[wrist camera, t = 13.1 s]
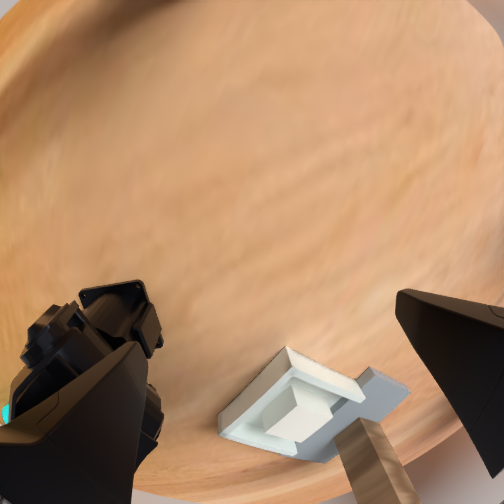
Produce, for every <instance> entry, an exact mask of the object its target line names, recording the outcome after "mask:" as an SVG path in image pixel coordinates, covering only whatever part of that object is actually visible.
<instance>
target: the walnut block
mask: <svg viewBox="0 0 504 504" xmlns="http://www.w3.org/2000/svg"><path fill="white" fill-rule="evenodd" d="M333 439H334V442H335V445H336V447H337V450H338V452H339V455H340V458H341V460H342V463H343V466H344V468H345V471H346V474H347V476H348V479H349V482H350V484H351V487H352V490H353V492H354V495H355V497H356V500H357V503H358V504H422V503H421V501H420V499H419V497H418V495H417V493H416V491H415V489H414V487H413V485H412V483H411V482H410V480H409V478H408V476H407V474H406V472H405V470H404V468H403V466H402V464H401V463H400V461H399V459H398V457H397V455H396V453H395V451H394V449H393V448H392V446H391V444H390V442H389V440H388V438H387V436H386V435H385V433H384V431H383V429H382V427H381V425H380V424H379V422H375V421H372V420H368V419H365V418H361V417H358V418H357V419H356V420H355V421H354V422H352V423H351V424H350V425H349V426H347V427H346V428H345V429H344V430H343V431H341V432H340V433H339V434H337V435H336V436H335V437H334V438H333Z"/></svg>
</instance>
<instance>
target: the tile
mask: <svg viewBox="0 0 504 504" xmlns="http://www.w3.org/2000/svg"><path fill="white" fill-rule="evenodd" d="M261 414H262V420H263V427H264V433H266V434H270V435H273V436H277V437H280V438H284V439H288V440H292V441H296V442H300V443H301V442H303V441H304V440H305V439H307V438H308V437H309V436H311V435H312V434H313V433H314V432H316V431H317V430H318V429H320V428H321V427H322V426H323V425H324V424H326V423H327V422H328V421H329V420H331V419H332V418H333V415H332V413H331V411H330V408H329V406H328V403H327V401H326V398H324V397H321V396H319V395H316V394H314V393H311V392H309V391H306V390H304V389H301V388H299V387H296V386H294V385H290V386H289V387H288V388H287V389H286V390H285V391H284V392H283V393H282V394H281V395H280V396H278V397H277V398H276V399H275V400H274V401H273V402H272V403H271V404H270V405H269V406H268V407H266V408H265V409H264V410H263V411H262V412H261Z"/></svg>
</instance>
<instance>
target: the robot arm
mask: <svg viewBox="0 0 504 504" xmlns="http://www.w3.org/2000/svg"><path fill="white" fill-rule="evenodd" d="M136 284H138V285H139V286H140V288H137V287H136ZM83 293H84V294H85V295H86V297H85V296H84V295H83ZM79 297H80V300H81V303H82V305H83V308H84V310H83V311H81V310H80V309H79V305H78V304H77V303H76V301H75V300H74V301H73V302H71V303H70V304H69V305H68V303H66V304H65V305H64V306H62V307H60V306H57V305H54V304H53V305H52V306H51V307H50V308H49V309H48V310H47V311H46V312H45V313H44V314H43V315H42V316H41V317H40V318H38V319H37V320H36V321H35V322H34V323H33V324H32V326H31V327H30V328H29V329H28V341H27V343H26V344H25V348H24V350H23V352H22V353H21V355H20V358H21V360H22V361H23V362H24V363H25V364H26V365H25V367H24V368H23V369H22V370H21V371H20V372H19V374H18V375H17V376H16V377H15V378H14V380H13V381H12V384H11V390H10V400H9V414H8V423H7V424H5V425H3V426H1V427H0V504H131V497H132V488H133V479H134V474H135V472H136V470H137V468H138V467H139V465H140V464H141V462H142V461H143V460H144V459H145V457H146V456H147V455H148V454H149V453H150V452H151V451H152V450H153V449H154V448H156V447H157V445H158V442H157V441H156V440H157V438H158V436H159V434H160V431H161V427H162V423H163V420H164V413H163V412H162V411H161V399H160V397H159V395H158V394H157V392H156V389H155V388H154V387H153V386H152V385H151V384H148V383H147V374H148V362H147V359H150V358H151V357H152V355H153V352H154V349H156V348H161V347H162V346H163V343H164V341H163V338H162V335H161V333H160V332H161V330H162V328H161V326H160V323H159V320H158V317H157V314H156V311H155V308H154V305H153V304H152V303H151V302H150V301H149V298H148V295H147V292H146V289H145V286H144V283H143V282H142V281H141V280H132V281H126V282H120V283H115V284H109V285H103V286H97V287H91V288H85V289H82V290H81V291H80V292H79ZM395 315H396V318H397V320H398V321H399V323H400V325H401V327H402V328H403V330H404V332H405V334H406V336H407V337H408V339H409V341H410V343H411V345H412V346H413V348H414V349H415V351H416V352H417V354H418V355H419V357H420V358H421V360H422V361H423V363H424V364H425V366H426V367H427V368H428V370H429V371H430V373H431V374H432V376H433V377H434V379H435V380H436V382H437V383H438V385H439V387H440V388H441V390H442V391H443V393H444V394H445V396H446V397H447V399H448V401H449V402H450V404H451V405H452V407H453V409H454V410H455V412H456V414H457V415H458V417H459V419H460V420H461V422H462V424H463V425H464V427H465V429H466V431H467V432H468V434H469V436H470V438H471V440H472V441H473V443H474V445H475V447H476V449H477V451H478V452H479V454H480V456H481V458H482V460H483V462H484V464H485V466H486V468H487V470H488V472H489V474H490V476H491V477H492V478H495V477H496V476H497V475H498V474H499V473H500V472H502V470H504V308H502V307H497V306H492V305H488V306H487V305H486V304H482V303H477V302H472V301H467V300H462V299H457V298H452V297H447V296H442V295H437V294H433V293H428V292H423V291H418V290H413V289H403V290H400V291H398V292H397V295H396V307H395ZM157 341H158V342H160V343H157ZM500 504H504V501H502V502H501V503H500Z"/></svg>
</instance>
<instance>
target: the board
mask: <svg viewBox="0 0 504 504" xmlns="http://www.w3.org/2000/svg"><path fill="white" fill-rule="evenodd" d="M356 382H357V384H358V385H359V387H360V389H361V391H362V392H363V394H364V396H365V398H366V399H365V400H363V401H362V402H361V403H358V402H356V401H353V400H350V399H348V398H345V397H342V398H340V399H339V400H338V401H337V402H336V403H335V404H334V405H333V406H332V407H330V411H331V413H332V415H333V418H332V419H331V420H329V421H328V422H327V423H326V424H324V425H323V426H322V427H321V428H320V429H318V430H317V431H316V432H314V433H313V434H312V435H311V436H309V437H308V438H307V439H305V440H304V441H303V442H301V443H300V442H296V441H295V445H296V449H297V454H296V455H294V456H290V455H285V454H281V453H279V454H280V455H282V456H286V457H291V458H296V459H301V460H307V461H313V462H319V463H326V462H328V461H329V460H331V459H332V458H333V457H335V456H336V455H338V454H339V452H338V450H337V447H336V445H335V442H334V439H333V438H334V437H335V436H336V435H337V434H339V433H340V432H341V431H343V430H344V429H345V428H346V427H347V426H349V425H350V424H351V423H352V422H354V421H355V420H356V419H357V418H358V417H361V418H365V419H368V420H372V421H375V422H380V421H381V420H382V419H384V418H385V417H386V416H387V415H388V414H389V413H390V412H391V411H392V410H394V409H395V408H396V407H397V406H398V405H399V404H400V403H401V402H402V401H403V400H404V399H405V398H406V397H407V396H408V395H409V394H410V393H411V392H410V390H409V389H408V387H407V386H406V385H404V384H402V383H400V382H398V381H396V380H394V379H392V378H390V377H389V376H387V375H385V374H383V373H381V372H379V371H377V370H375V369H373V368H371V367H369V368H368V369H367V370H366V371H365V372H364V373H363V374H362V375H361V376H360V377H359V378H358V379H357V380H356Z"/></svg>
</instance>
